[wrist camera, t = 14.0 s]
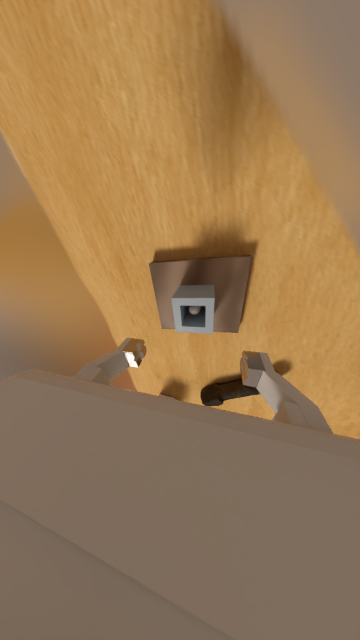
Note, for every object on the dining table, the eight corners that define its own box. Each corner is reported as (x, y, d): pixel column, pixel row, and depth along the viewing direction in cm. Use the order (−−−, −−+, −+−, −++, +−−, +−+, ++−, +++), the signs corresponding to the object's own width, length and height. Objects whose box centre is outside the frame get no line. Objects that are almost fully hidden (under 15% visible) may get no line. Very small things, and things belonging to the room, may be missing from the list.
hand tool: (271, 365, 27) (280, 386, 23) (278, 377, 28) (288, 399, 25) (196, 383, 36) (193, 400, 32) (203, 391, 37) (202, 408, 34)
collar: (214, 284, 19) (214, 298, 15) (212, 315, 22) (212, 333, 18) (179, 285, 20) (171, 298, 16) (182, 314, 23) (175, 331, 19)
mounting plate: (249, 254, 18) (260, 261, 13) (236, 327, 24) (242, 348, 19) (152, 261, 21) (136, 268, 16) (164, 324, 27) (154, 341, 23)
